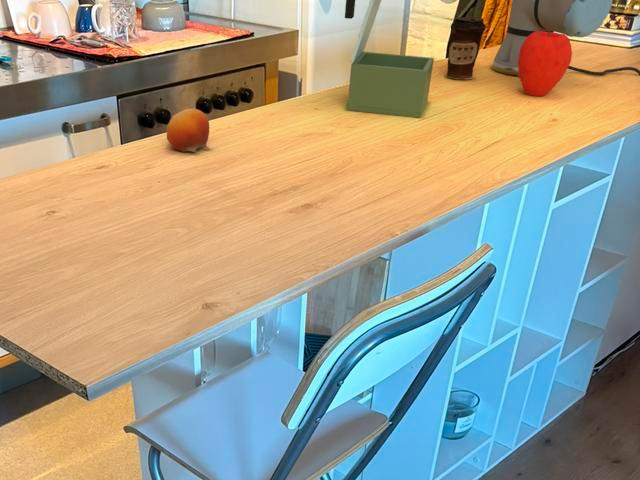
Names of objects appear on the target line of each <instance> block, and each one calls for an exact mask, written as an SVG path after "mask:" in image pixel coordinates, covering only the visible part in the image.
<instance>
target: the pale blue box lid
mask: <svg viewBox="0 0 640 480" xmlns="http://www.w3.org/2000/svg"><path fill="white" fill-rule="evenodd" d="M381 3H382V0H369V1H368V6H367V9H366V12H365V14H364V18H363V20H362V24H361V26H360V30H359V33H358V35H357V39H356V42H355V44H354V47H353V50H352V52H351V57H350V59H349V61H350V62H351V63H353V62H354V61H355V60H356V59H357V58H358V56H359V55H360V54H361V53H362V52H365V49H366V47H367V46H366V45H367V44H368V41H369V38H370V35H371V33H372V32H371V31H372V29H373V26H374V23H375V20H376V18H377V14H378V11H379V8H380V6H381Z"/></svg>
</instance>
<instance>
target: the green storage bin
mask: <svg viewBox="0 0 640 480" xmlns="http://www.w3.org/2000/svg"><path fill="white" fill-rule="evenodd" d="M434 60H435V58H434V57H428V56H427V57H426V56H417V55H405V54H394V53H382V52H373V51H363V52H362V53H361V54H360V55H359V56H358V58H357V59H356V60H355V61H354V62H351V65H350V75H349V85H348V96H347V106H346V111H352V112H362V113H371V114H372V113H373V114H381V115H391V116H401V117H409V118H410V117H411V118H419V119H420V118H421V117H422V115H423V112H424V110H425V108H426V106H427V104H428V102H429V101H428V100H429V94H430V86H431V81H432V74H433V67H434Z"/></svg>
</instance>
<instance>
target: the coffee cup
mask: <svg viewBox="0 0 640 480" xmlns="http://www.w3.org/2000/svg"><path fill="white" fill-rule="evenodd" d="M484 21H485V19H484V18H482V17H479V16H478V17H477V16H461V17H457V16H456V17H454V21H453V22H452V23H451V24H450V36H449V46H448V56H447V57H448V58H447V72H446V77H447V78H449V79H455V80H472V79H473V76H474V74H473V73H474V67H475V64H476V61H477V58H478V55H479V52H480V47H481V43H482V38H483V34H484V32H485V31H486V27H487V26H486V24H485V23H484Z"/></svg>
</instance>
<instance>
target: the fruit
mask: <svg viewBox="0 0 640 480" xmlns="http://www.w3.org/2000/svg"><path fill="white" fill-rule="evenodd" d="M209 136H210V120H209V118H208V116H207V115H206V114H205V113H204V112H203V111H202V110H200V109H196V108H185V109H183V110H182V111H179V112H177V113H175V114H173V115H172V116H171V117H170V120H169V122H168V123H167V126H166V139H167V142H168V143H169V144H170V145H171V146H172V148H174V149H175V150H176V151H179V152H192V153H196V152H197V150H198V149H199V148H206V149H208V150H210V148H209V147H208V145H207V143H208V142H209Z"/></svg>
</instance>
